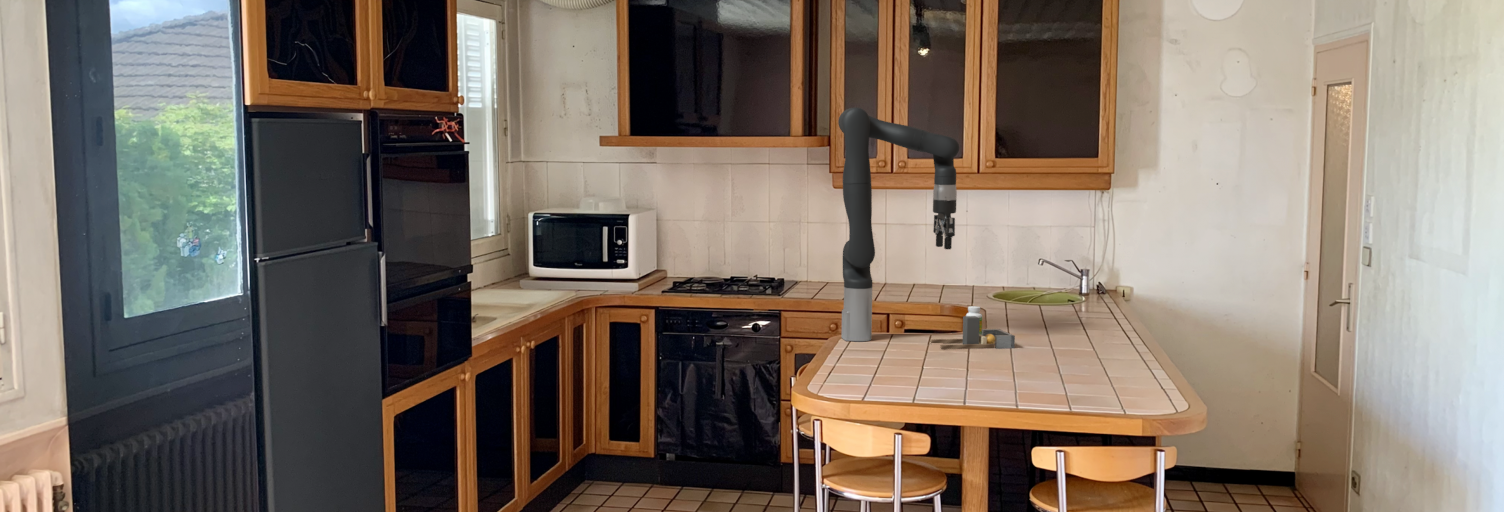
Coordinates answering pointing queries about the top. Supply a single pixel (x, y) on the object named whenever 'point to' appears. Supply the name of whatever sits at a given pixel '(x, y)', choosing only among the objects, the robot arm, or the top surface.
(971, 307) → the supplement bottle
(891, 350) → the top surface
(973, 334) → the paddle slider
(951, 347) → the lane
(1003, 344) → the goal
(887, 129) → the robot arm
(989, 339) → the ball
